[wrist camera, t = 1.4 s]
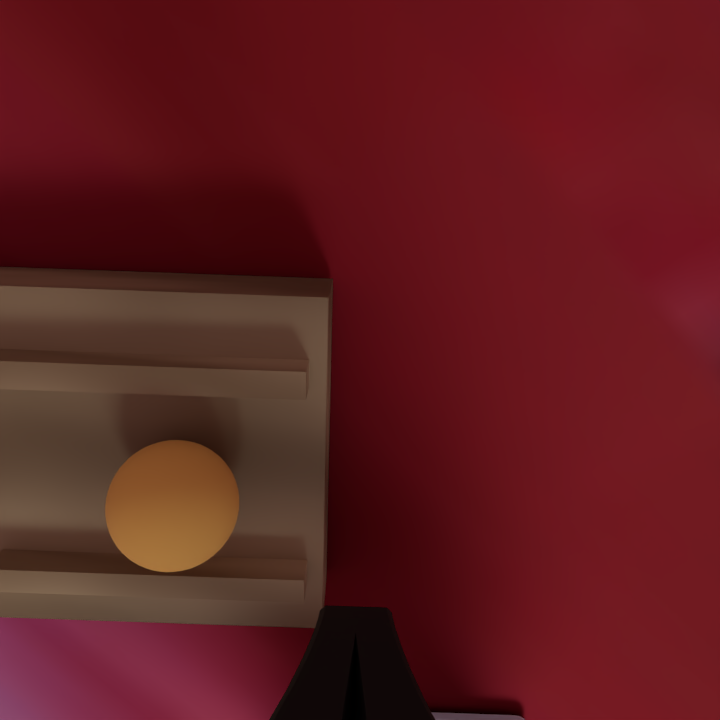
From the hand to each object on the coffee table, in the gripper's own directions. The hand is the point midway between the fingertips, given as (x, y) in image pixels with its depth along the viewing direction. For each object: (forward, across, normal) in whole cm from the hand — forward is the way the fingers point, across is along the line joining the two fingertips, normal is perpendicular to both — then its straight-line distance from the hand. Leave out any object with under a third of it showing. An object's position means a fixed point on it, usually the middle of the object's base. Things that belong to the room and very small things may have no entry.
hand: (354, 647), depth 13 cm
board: (+9, +10, 0) cm, 14 cm away
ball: (+5, +5, 0) cm, 7 cm away
